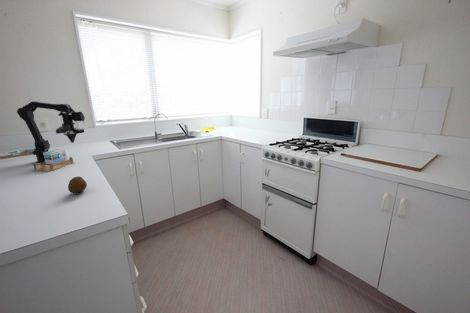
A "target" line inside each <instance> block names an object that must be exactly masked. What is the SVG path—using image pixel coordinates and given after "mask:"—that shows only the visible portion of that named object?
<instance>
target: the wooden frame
mask: <svg viewBox="0 0 470 313" xmlns="http://www.w3.org/2000/svg"><path fill="white" fill-rule="evenodd" d="M73 164H74V159H73V157H72V156H71V157H69V158H68V159H67V160H66V161H63V162H60V163H57V164H54V165H53V164H49V165H46V162H43V163H37V162H35V163H32V165H33V169H34V171H35V172H36V171H40V172H43V171H46V172H47V171H48V172H53V171H56V170H59V169H61V168H64V167H67V165H68V166H70V165H73Z"/></svg>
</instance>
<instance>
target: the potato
mask: <svg viewBox="0 0 470 313" xmlns="http://www.w3.org/2000/svg"><path fill="white" fill-rule="evenodd" d="M67 189H68V191H69V193H72V194H78V193H81V192H83V191H85V190H86V189H87V181H86V180H85V179H84V178H83V177H81V176H75V177H73V178H71V179H70V180H69V182H68V185H67Z"/></svg>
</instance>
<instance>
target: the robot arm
mask: <svg viewBox="0 0 470 313" xmlns="http://www.w3.org/2000/svg"><path fill="white" fill-rule="evenodd" d="M37 109H47V110H54V111H57V112H59V113H58V114H57V115H58V116H61V118H62V123H61V126H59V127H57V128H56V129H55V134H56V135H57V134H63V135H64V136H66V138H68V140H69V141H70V142H71V143H75V140H76V137H77V134H83V133H85V129H84V128H76V127H75V122H84V121H85V115H84V113H83V112H82V111H75V110H74V108H72V106H71V105H70V104H68V103H49V102H48V103H47V102H40V101H30V102H29V103H27V104H25V105H23V106H22V107H19V108H17V110H16V113H17V115H18V116H19V118H20V119H21V120H22V121H24V123H25V125H26V126H27V128H28V131H29V132H30V134H31V136H32V138H33V141H34V150H33V151H32V154H33V155H34V156H35V157H36V163H38V164H40V163H44V162H45V159H44V155H43V153H44V152H48V151H50V148H51V144H50V142H49V140H48V139H45V138H43V135H42V133H41V132H40V130H39V127H38V126H37V124H36V122H35V114H34V112H35V111H36V110H37Z"/></svg>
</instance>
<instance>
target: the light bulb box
mask: <svg viewBox="0 0 470 313" xmlns="http://www.w3.org/2000/svg"><path fill="white" fill-rule="evenodd" d="M43 155H44V159H45V162H46V165H49V164H53V165H54V164H57V163H60V162H63V161H66V160H68V157H67V152H66V149H64V148H56V149H52V150H48V152H44V153H43Z"/></svg>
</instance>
